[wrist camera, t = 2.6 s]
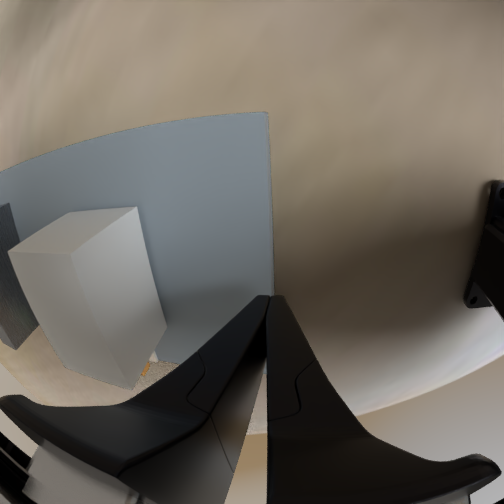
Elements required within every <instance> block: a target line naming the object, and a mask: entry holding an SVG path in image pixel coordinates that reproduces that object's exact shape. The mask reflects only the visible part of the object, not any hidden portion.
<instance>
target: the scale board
mask: <svg viewBox="0 0 504 504" xmlns="http://www.w3.org/2000/svg"><path fill="white" fill-rule="evenodd" d="M5 203H10V207H11V211H12V215H13V218H14V222H15V226H16V229H17V232H18V236H19V239H20V242H22V241H24V240H25V239H27V238H28V237H30V236H31V235H33V234H34V233H36V232H37V231H39V230H41V229H42V228H44V227H45V226H47V225H49V224H50V223H52V222H54V221H55V220H57V219H59V218H60V217H62V216H64V215H65V214H67V213H69V212H76V211H86V210H97V209H109V208H122V207H136V206H137V208H138V214H139V219H140V224H141V228H142V233H143V238H144V242H145V247H146V251H147V255H148V259H149V263H150V267H151V271H152V275H153V279H154V283H155V286H156V290H157V294H158V297H159V301H160V304H161V308H162V311H163V314H164V318H165V321H166V324H167V329H166V330H165V332H164V334H163V336H162V337H161V339H160V341H159V343H158V344H157V346H156V348H155V350H154V352H153V353H152V355H151V357H150V359H149V361H152V362H158V360H160V361H166V362H171V363H177V364H182V363H183V362H184V361H185V360H186V359H188V358H189V357H190V356H191V355H192V354H193V353H194V352H196V351H197V350H198V349H199V348H200V347H201V346H202V345H204V344H205V343H206V342H207V341H208V340H209V339H210V338H211V337H212V336H214V335H215V334H216V333H217V332H218V331H219V330H220V329H221V328H222V327H223V326H225V325H226V324H227V323H228V322H229V321H230V320H231V319H232V318H233V317H234V316H235V315H237V314H238V313H239V312H240V311H241V310H242V309H243V308H244V307H245V306H246V305H247V304H248V303H249V302H250V301H252V300H253V299H254V298H255V297H256V296H257V295H269V296H270V297H271V296H272V295H274V252H273V218H272V190H271V166H270V144H269V124H268V113H267V112H252V113H237V114H225V115H215V116H206V117H198V118H191V119H184V120H177V121H171V122H165V123H159V124H154V125H148V126H143V127H138V128H134V129H129V130H125V131H120V132H116V133H112V134H108V135H104V136H100V137H97V138H93V139H89V140H86V141H82V142H79V143H76V144H73V145H69V146H66V147H63V148H60V149H57V150H54V151H51V152H49V153H46V154H43V155H40V156H38V157H35V158H32V159H30V160H27V161H25V162H22V163H20V164H17V165H15V166H13V167H10V168H8V169H6V170H3V171H1V172H0V205H2V204H5ZM263 374H267V372H266V364H265V368H264V371H263Z"/></svg>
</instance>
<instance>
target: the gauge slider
mask: <svg viewBox="0 0 504 504" xmlns="http://www.w3.org/2000/svg"><path fill="white" fill-rule="evenodd" d="M8 255H9V257H10V260H11V263H12V265H13V268H14V271H15V273H16V276H17V278H18V280H19V283H20V285H21V287H22V290H23V292H24V294H25V296H26V298H27V301H28V303H29V305H30V307H31V309H32V311H33V313H34V315H35V317H36V319H37V321H38V323H39V324H40V326H41V328H42V330H43V332H44V334H45V335H46V337H47V339H48V341H49V342H50V344H51V346H52V347H53V349H54V351H55V352H56V354H57V356H58V357H59V359H60V360H61V362H62V363H63V365H64V367H65V368H68V369H70V370H73V371H75V372H78V373H80V374H83V375H86V376H89V377H91V378H94V379H97V380H100V381H103V382H106V383H109V384H112V385H116V386H119V387H122V388H126V389H129V390H133V388H134V386H135V384H136V383H137V381H138V379H139V377H140V375H143V376H145V374H146V372H147V370H148V369H149V367H150V364H149V362H148V361H149V359H150V357H151V355H152V353H153V352H154V350H155V348H156V346H157V344H158V343H159V341H160V339H161V337H162V336H163V334H164V332H165V330H166V329H167V324H166V321H165V318H164V314H163V311H162V308H161V304H160V301H159V297H158V294H157V290H156V286H155V283H154V279H153V275H152V271H151V267H150V263H149V259H148V255H147V251H146V247H145V242H144V238H143V233H142V228H141V224H140V219H139V214H138V208H137V206H136V207H122V208H109V209H97V210H86V211H76V212H69V213H67V214H65V215H64V216H62V217H60V218H59V219H57V220H55V221H54V222H52V223H50V224H49V225H47V226H45V227H44V228H42V229H41V230H39V231H37V232H36V233H34V234H33V235H31V236H30V237H28V238H27V239H25V240H24V241H22V242H21V243H19V244H18V245H16V246H15V247H13V248H12V249H10V250H9V251H8Z"/></svg>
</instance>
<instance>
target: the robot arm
mask: <svg viewBox="0 0 504 504" xmlns="http://www.w3.org/2000/svg"><path fill="white" fill-rule="evenodd" d="M500 190H501V194H500V195H499V192H500ZM463 302H464V303H465V305H466V306H467V307H468V308H481V307H491V306H493V307H494V308H495V310H496V311H497V313H498V314H499V315H500V317H501V318H502V320H503V321H504V181H501V180H497V181H495V182H494V183H493V185H492V187H491V192H490V198H489V204H488V210H487V215H486V220H485V225H484V229H483V234H482V238H481V242H480V246H479V250H478V253H477V257H476V260H475V264H474V267H473V270H472V273H471V277H470V280H469V283H468V286H467V288H466V291H465V294H464V297H463ZM265 364H266V372H267V434H268V435H267V439H268V440H267V446H268V447H267V503H266V504H471V501H470V494H472V493H474V492H476V491H477V490H479V489H481V488H482V487H484V486H485V485H487V484H489V483H490V482H492V481H493V480H495V479H496V478H497V477H499V476H500V475H501V470H500V468H499V467H498V465H497V464H496V463H495V462H493V461H492V460H490V459H489V458H487V457H485V456H483V455H481V454H471V455H468V456H465V457H461V458H458V459H456V460H451V461H442V462H439V461H431V460H427V459H424V458H421V457H419V456H416V455H414V454H412V453H409V452H407V451H405V450H402V449H400V448H398V447H395V446H393V445H391V444H389V443H386V442H384V441H382V440H380V439H378V438H376V437H375V436H373V435H372V434H370V433H369V432H368V431H367V430H366V429H365V428H364V427H363V426H362V425H361V423H360V422H359V421H358V420H357V418H356V417H355V416H354V414H353V413H352V412H351V410H350V409H349V408H348V406H347V405H346V404H345V402H344V401H343V400H342V398H341V397H340V396H339V394H338V393H337V392H336V390H335V389H334V387H333V386H332V384H331V383H330V381H329V380H328V378H327V376H326V375H325V373H324V371H323V370H322V368H321V366H320V364H319V362H318V360H317V358H316V357H315V355H314V353H313V351H312V349H311V347H310V345H309V343H308V341H307V339H306V337H305V336H304V334H303V332H302V330H301V328H300V326H299V324H298V322H297V320H296V319H295V317H294V315H293V313H292V311H291V309H290V307H289V305H288V303H287V302H286V300H285V298H284V296H282V295H272V296H271V297H270V296H269V295H257V296H256V297H255V298H254V299H253V300H252V301H250V302H249V303H248V304H247V305H246V306H245V307H244V308H243V309H242V310H241V311H240V312H239V313H238V314H237V315H235V316H234V317H233V318H232V319H231V320H230V321H229V322H228V323H227V324H226V325H225V326H223V327H222V328H221V329H220V330H219V331H218V332H217V333H216V334H215V335H214V336H212V337H211V338H210V339H209V340H208V341H207V342H206V343H205V344H204V345H202V346H201V347H200V348H199V349H198V350H197V351H196V352H194V353H193V354H192V355H191V356H190V357H189V358H188V359H186V360H185V361H184V362H183V363H182V364H180V365H179V366H178V367H177V368H175V369H174V370H173V371H171V372H170V373H168V374H167V375H166V376H164V377H163V378H161V379H160V380H158V381H157V382H155V383H154V384H152V385H151V386H149V387H148V388H146V389H145V390H143V391H142V392H140V393H139V394H137V395H136V396H134V397H133V398H131V399H129V400H127V401H125V402H123V403H120V404H116V405H110V406H86V407H56V406H46V405H41V404H37V403H35V402H33V401H31V400H30V399H28V398H27V397H25V396H23V395H6V396H3V397H1V398H0V409H1V410H2V411H3V412H4V413H5V414H6V415H7V416H8V417H9V418H10V419H11V420H12V421H13V422H14V423H15V424H16V425H17V426H18V427H19V428H20V429H21V430H22V431H23V432H24V433H25V434H26V435H27V436H28V437H30V438H31V439H32V440H33V441H34V442H35V443H37V444H38V445H39V446H38V448H37V449H36V451H35V453H34V455H33V457H32V458H31V457H29V456H28V455H27V454H25V453H24V452H23V451H22V450H20V449H19V448H18V447H17V446H16V445H15V444H13V443H12V442H11V441H10V440H9V439H8V438H7V437H5V436H4V435H3V434H2V433H1V432H0V504H224V502H225V499H226V496H227V493H228V490H229V487H230V484H231V481H232V478H233V475H234V474H233V473H234V472H235V469H236V465H237V462H238V459H239V456H240V452H241V449H242V446H243V442H244V439H245V436H246V432H247V429H248V426H249V422H250V419H251V415H252V412H253V408H254V405H255V401H256V397H257V394H258V390H259V386H260V383H261V379H262V375H263V371H264V368H265ZM494 504H504V498H503V499H501V500H500V501H498V502H496V503H494Z"/></svg>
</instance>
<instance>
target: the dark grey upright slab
mask: <svg viewBox="0 0 504 504" xmlns="http://www.w3.org/2000/svg"><path fill="white" fill-rule="evenodd" d="M19 243H21V242H20V239H19V236H18V232H17V229H16V226H15V222H14V218H13V215H12V211H11V207H10V203H5V204H2V205H0V339H1V340H2V342H3V343H4V344H6V345H8V346H9V347H11V348H13V349H15V350H17V349H18V348H19V347H20V345H21V344H22V343H23V342H24V341H25V340H26V339H27V337H28V336H29V335H30V334H31V333H32V332H33V331H34V330H35V329H36V328H37V327H38V325H39V323H38V321H37V319H36V317H35V315H34V313H33V311H32V309H31V307H30V305H29V303H28V301H27V298H26V296H25V294H24V292H23V290H22V287H21V285H20V283H19V280H18V278H17V276H16V273H15V271H14V268H13V265H12V263H11V260H10V257H9V255H8V251H9V250H10V249H12V248H13V247H15V246H16V245H18V244H19Z"/></svg>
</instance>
